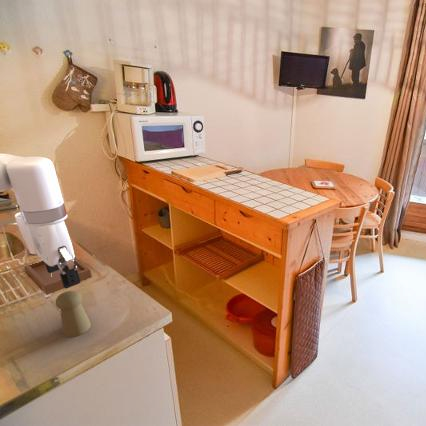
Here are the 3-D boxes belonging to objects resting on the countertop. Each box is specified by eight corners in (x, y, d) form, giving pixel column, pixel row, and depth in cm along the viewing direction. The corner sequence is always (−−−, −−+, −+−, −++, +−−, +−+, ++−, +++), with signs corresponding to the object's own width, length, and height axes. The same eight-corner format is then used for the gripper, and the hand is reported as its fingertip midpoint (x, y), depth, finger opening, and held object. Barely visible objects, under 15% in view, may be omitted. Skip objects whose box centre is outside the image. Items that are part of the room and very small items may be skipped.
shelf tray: (92, 277, 104) (90, 269, 102) (46, 294, 94) (44, 286, 93) (69, 257, 113) (67, 250, 111) (25, 271, 103) (23, 264, 102)
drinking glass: (50, 245, 119) (39, 208, 113) (52, 252, 115) (41, 214, 109) (26, 250, 115) (13, 212, 109) (27, 258, 110) (14, 219, 104)
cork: (65, 341, 79) (55, 305, 75) (60, 328, 83) (49, 293, 79) (94, 329, 84) (85, 295, 79) (87, 317, 87) (78, 284, 83)
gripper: (10, 207, 72) (32, 271, 79) (37, 230, 63) (59, 299, 70) (50, 199, 78) (67, 259, 84) (81, 219, 69) (97, 284, 76)
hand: (64, 277), depth 77 cm, fingers open, 9 cm apart
